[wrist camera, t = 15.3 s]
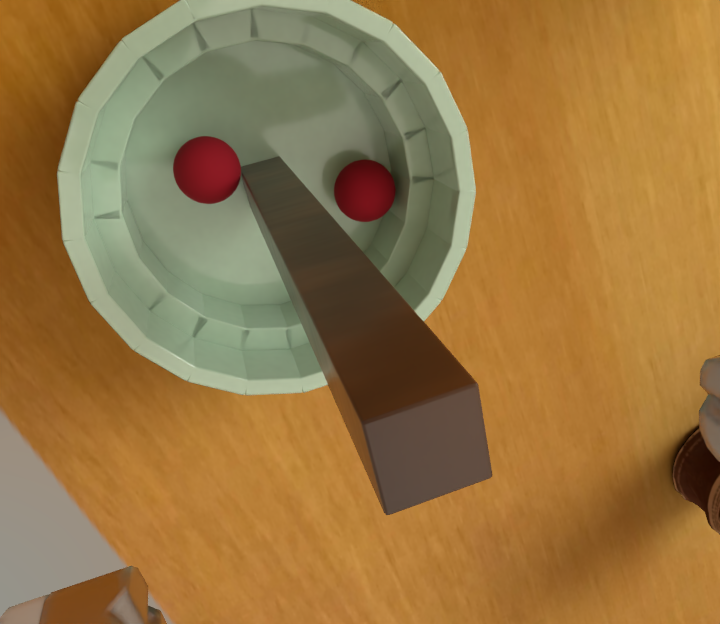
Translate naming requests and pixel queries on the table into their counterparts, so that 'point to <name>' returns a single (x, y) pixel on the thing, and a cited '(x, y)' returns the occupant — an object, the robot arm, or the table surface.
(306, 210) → the stirring stick
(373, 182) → the berry
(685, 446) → the coffee cup
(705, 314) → the table surface
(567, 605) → the table surface
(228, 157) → the berry
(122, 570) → the robot arm
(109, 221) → the bowl
